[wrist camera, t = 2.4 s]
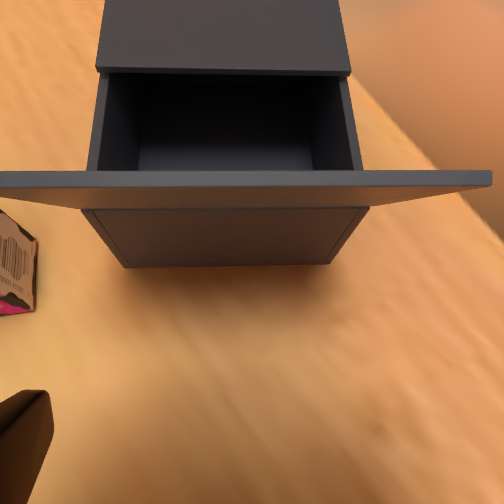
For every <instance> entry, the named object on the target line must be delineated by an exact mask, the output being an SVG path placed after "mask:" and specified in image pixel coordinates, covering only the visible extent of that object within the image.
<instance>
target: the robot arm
mask: <svg viewBox="0 0 504 504" xmlns="http://www.w3.org/2000/svg"><path fill="white" fill-rule="evenodd" d="M53 434H54V421H53V414H52V407H51V401H50V396H49V393H48V392H47V391H45V390H22V391H20V392H18V393H17V394H15V395H13V396H11V397H10V398H8V399H6V400H5V401H3V402H1V403H0V504H27V502H28V500H29V497H30V495H31V492H32V490H33V487H34V485H35V482H36V479H37V477H38V474H39V472H40V469H41V467H42V464H43V462H44V459H45V456H46V454H47V451H48V449H49V446H50V444H51V441H52V438H53Z"/></svg>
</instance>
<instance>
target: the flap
mask: <svg viewBox="0 0 504 504" xmlns="http://www.w3.org/2000/svg"><path fill="white" fill-rule="evenodd" d="M491 185H492V171H491V170H326V171H0V197H4V198H11V199H17V200H24V201H30V202H36V203H43V204H49V205H56V206H62V207H68V208H75V209H100V208H215V207H330V206H378V205H384V204H390V203H396V202H401V201H407V200H413V199H419V198H425V197H431V196H436V195H442V194H448V193H454V192H460V191H465V190H471V189H477V188H483V187H488V186H491Z"/></svg>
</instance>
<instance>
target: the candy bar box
mask: <svg viewBox="0 0 504 504" xmlns="http://www.w3.org/2000/svg"><path fill="white" fill-rule="evenodd" d="M36 247H37V242H36V239H35V238H34V237H33V236H32V235H30V234H29V233H28V232H27V231H26V230H24V229H23V228H22V227H21V226H20V225H19V224H17V223H16V222H15V221H14V220H13V219H11V218H10V217H9V216H8V215H7V214H6V213H4V212H3V211H2V210H1V209H0V316H1V315H8V314H15V313H21V312H28V311H33V309H34V297H35V284H34V282H35V270H36V257H37V251H36Z"/></svg>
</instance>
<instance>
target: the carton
mask: <svg viewBox="0 0 504 504" xmlns="http://www.w3.org/2000/svg"><path fill="white" fill-rule="evenodd" d="M95 67H96V70H97V72H100V78H99V85H98V92H97V99H96V106H95V113H94V120H93V127H92V134H91V141H90V148H89V155H88V162H87V169H86V171H326V170H363V165H362V159H361V154H360V148H359V143H358V137H357V132H356V126H355V121H354V115H353V109H352V104H351V98H350V93H349V87H348V82H347V77H349V76H350V73H351V66H350V60H349V55H348V50H347V44H346V39H345V35H344V28H343V24H342V18H341V13H340V7H339V2H338V0H105V4H104V11H103V18H102V24H101V31H100V37H99V44H98V51H97V57H96V64H95ZM369 209H370V206H330V207H215V208H100V209H81V212H82V213H83V215H84V216H85V217H86V219H87V220H88V221H89V223H90V224H91V225H92V226H93V228H94V229H95V230H96V232H97V233H98V234H99V236H100V237H101V238H102V240H103V241H104V242H105V244H106V245H107V246H108V247H109V249H110V250H111V251H112V253H113V254H114V255H115V257H116V258H117V259H118V261H119V262H120V263H121V265H122V266H123V267H124V268H148V267H198V266H249V265H299V264H330V263H331V261H332V260H333V259H334V257H335V256H336V254H337V253H338V252H339V250H340V249H341V248H342V246H343V245H344V243H345V242H346V241H347V239H348V238H349V237H350V235H351V234H352V233H353V231H354V230H355V228H356V227H357V226H358V224H359V223H360V222H361V220H362V219H363V217H364V216H365V215H366V213H367V212H368V211H369Z"/></svg>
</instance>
